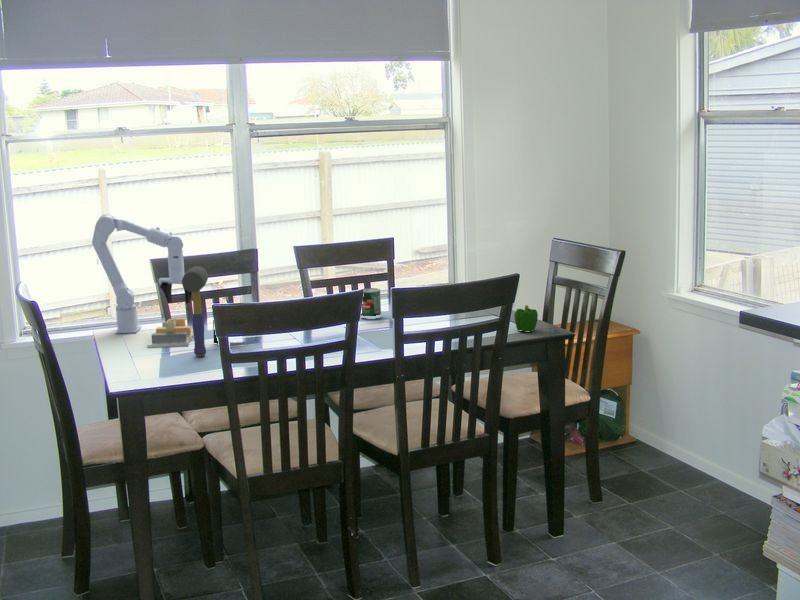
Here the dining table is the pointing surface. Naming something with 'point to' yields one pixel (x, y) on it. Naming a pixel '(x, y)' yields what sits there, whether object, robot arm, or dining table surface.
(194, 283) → the rubber mallet
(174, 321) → the brass block
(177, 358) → the dining table surface
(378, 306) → the canned tomato
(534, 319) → the bell pepper
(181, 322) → the sliding jaw
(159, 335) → the gray rectangular tray
